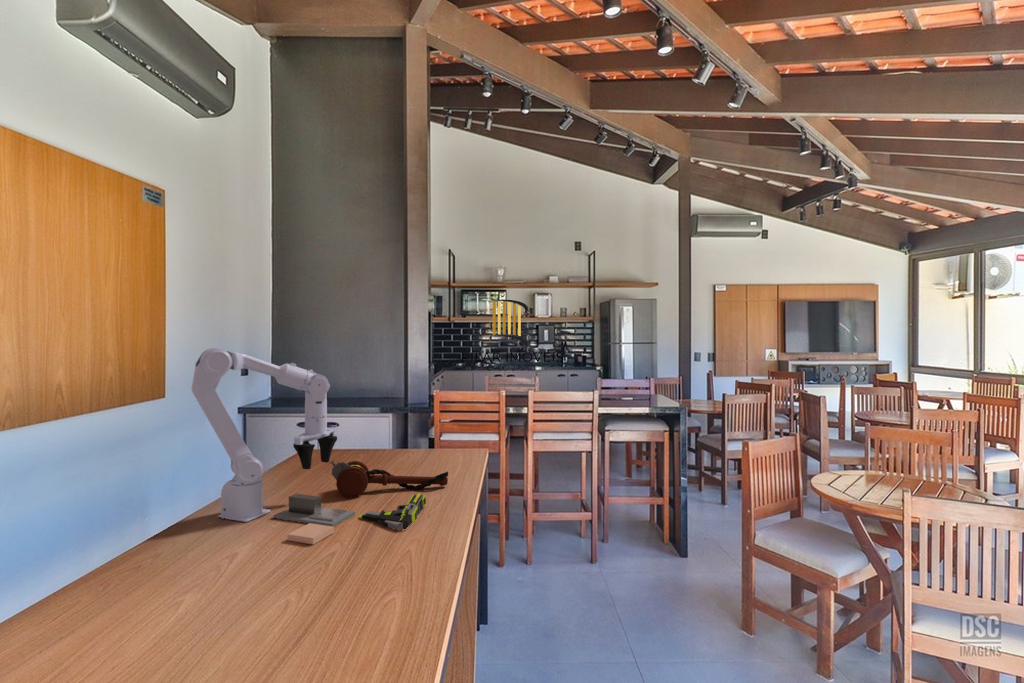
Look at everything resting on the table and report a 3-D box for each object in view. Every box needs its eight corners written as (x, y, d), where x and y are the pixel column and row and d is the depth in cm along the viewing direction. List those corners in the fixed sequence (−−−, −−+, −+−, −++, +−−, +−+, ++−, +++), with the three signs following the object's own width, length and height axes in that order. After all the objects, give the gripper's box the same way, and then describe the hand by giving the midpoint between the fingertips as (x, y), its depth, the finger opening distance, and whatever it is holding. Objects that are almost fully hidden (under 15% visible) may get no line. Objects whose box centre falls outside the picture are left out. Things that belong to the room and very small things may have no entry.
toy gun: (373, 492, 139) (426, 489, 139) (374, 506, 140) (427, 504, 139) (347, 522, 120) (408, 519, 119) (348, 539, 120) (410, 536, 119)
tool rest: (273, 518, 127) (273, 515, 127) (298, 506, 136) (298, 503, 136) (332, 527, 121) (332, 523, 121) (355, 514, 130) (355, 511, 130)
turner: (283, 514, 128) (283, 498, 128) (300, 506, 134) (300, 491, 133) (333, 521, 123) (333, 505, 123) (348, 513, 129) (348, 497, 129)
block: (287, 534, 113) (313, 538, 111) (309, 523, 120) (333, 526, 118) (287, 541, 113) (313, 545, 111) (309, 529, 120) (333, 533, 118)
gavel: (444, 490, 159) (447, 500, 149) (330, 488, 151) (326, 498, 141) (447, 458, 159) (450, 466, 149) (333, 455, 151) (329, 463, 141)
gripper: (309, 421, 131) (309, 473, 131) (344, 413, 144) (344, 460, 145) (287, 420, 133) (288, 471, 133) (324, 412, 147) (324, 458, 147)
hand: (316, 465), depth 139 cm, fingers open, 7 cm apart
